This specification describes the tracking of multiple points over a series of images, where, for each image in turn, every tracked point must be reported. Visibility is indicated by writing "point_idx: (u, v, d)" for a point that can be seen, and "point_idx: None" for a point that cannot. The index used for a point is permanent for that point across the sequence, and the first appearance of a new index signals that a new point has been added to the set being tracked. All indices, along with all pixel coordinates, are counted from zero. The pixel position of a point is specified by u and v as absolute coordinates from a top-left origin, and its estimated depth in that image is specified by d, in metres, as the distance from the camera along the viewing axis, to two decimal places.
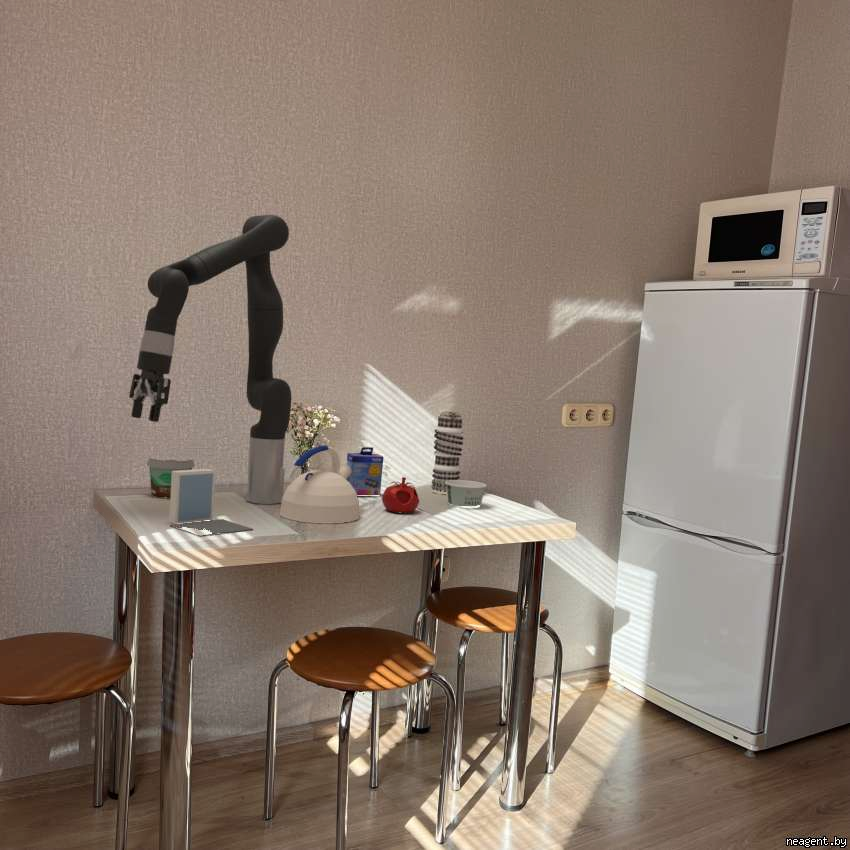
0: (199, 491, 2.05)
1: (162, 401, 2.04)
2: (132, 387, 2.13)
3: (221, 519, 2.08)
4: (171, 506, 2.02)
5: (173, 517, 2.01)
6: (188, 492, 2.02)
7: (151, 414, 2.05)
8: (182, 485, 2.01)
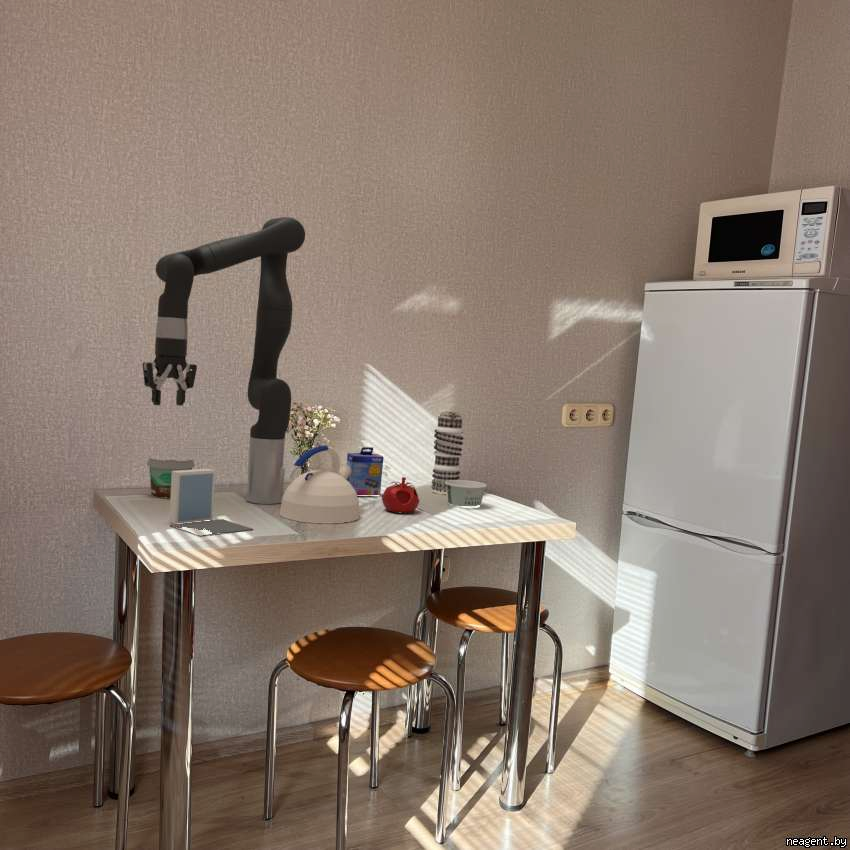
0: (199, 491, 2.05)
1: (147, 385, 2.13)
2: None
3: (221, 519, 2.08)
4: (171, 506, 2.02)
5: (173, 517, 2.01)
6: (188, 492, 2.02)
7: None
8: (182, 485, 2.01)
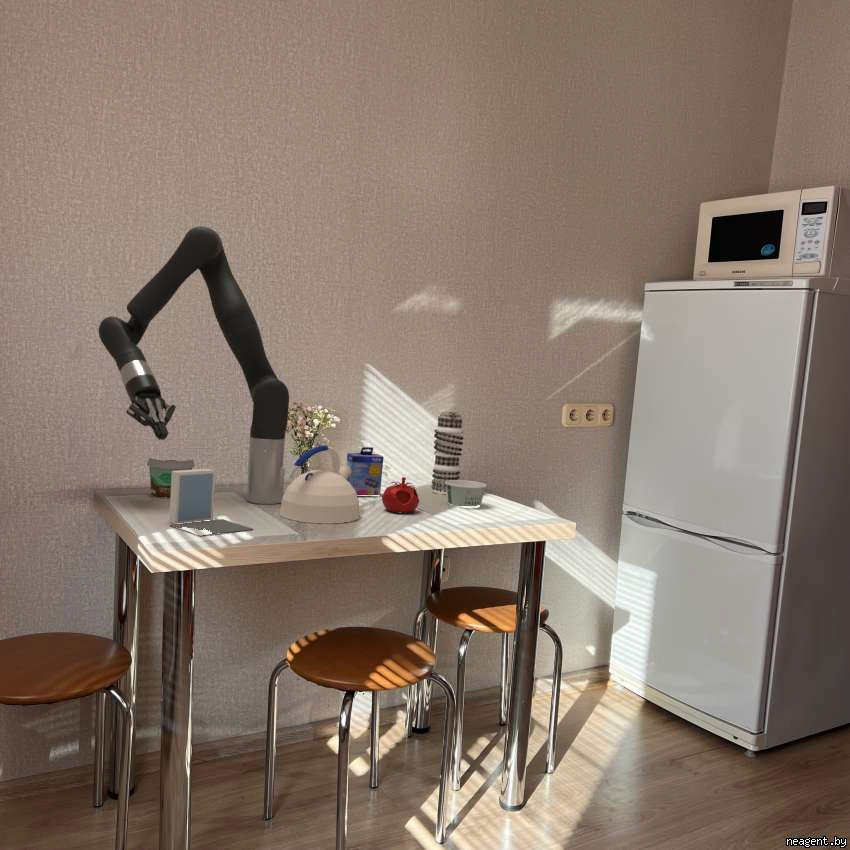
0: (199, 491, 2.05)
1: (145, 423, 2.13)
2: None
3: (221, 519, 2.08)
4: (171, 506, 2.02)
5: (173, 517, 2.01)
6: (188, 492, 2.02)
7: None
8: (182, 485, 2.01)
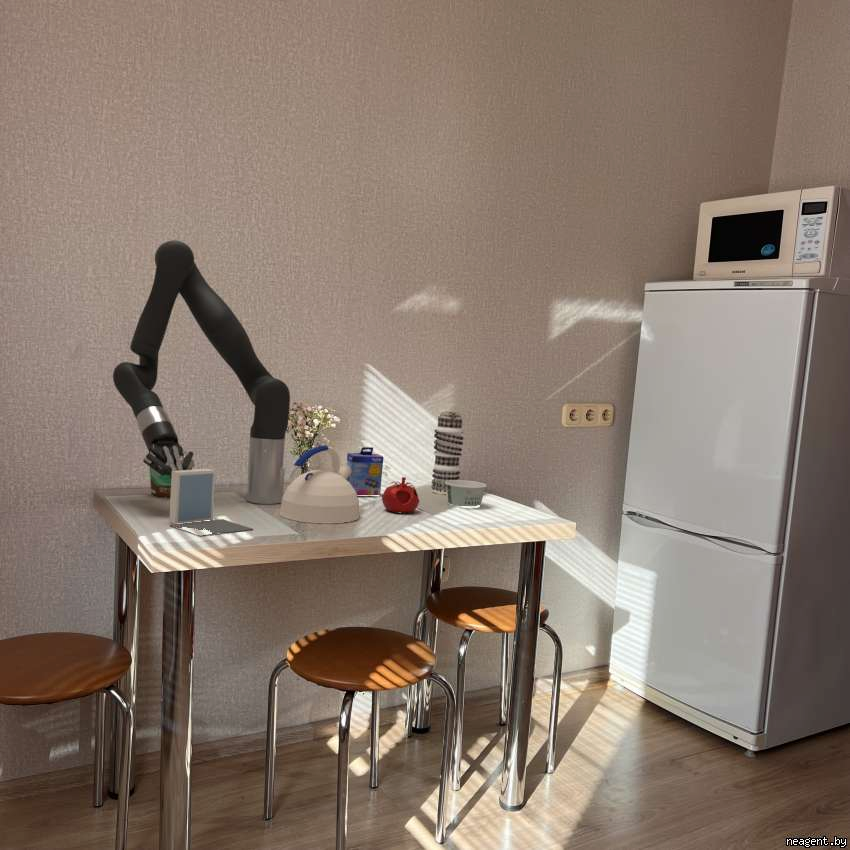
0: (199, 491, 2.05)
1: (163, 472, 2.08)
2: None
3: (221, 519, 2.08)
4: (171, 506, 2.02)
5: (173, 517, 2.01)
6: (188, 492, 2.02)
7: None
8: (182, 485, 2.01)
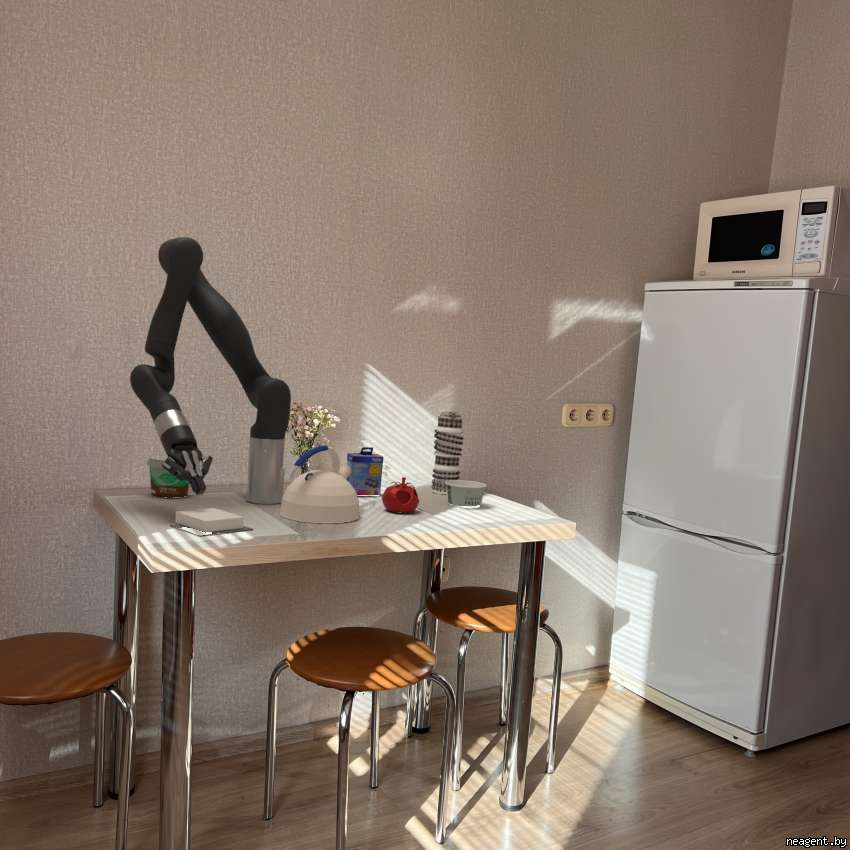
0: None
1: (182, 477, 2.02)
2: None
3: None
4: (185, 518, 1.98)
5: (179, 519, 2.00)
6: None
7: None
8: None
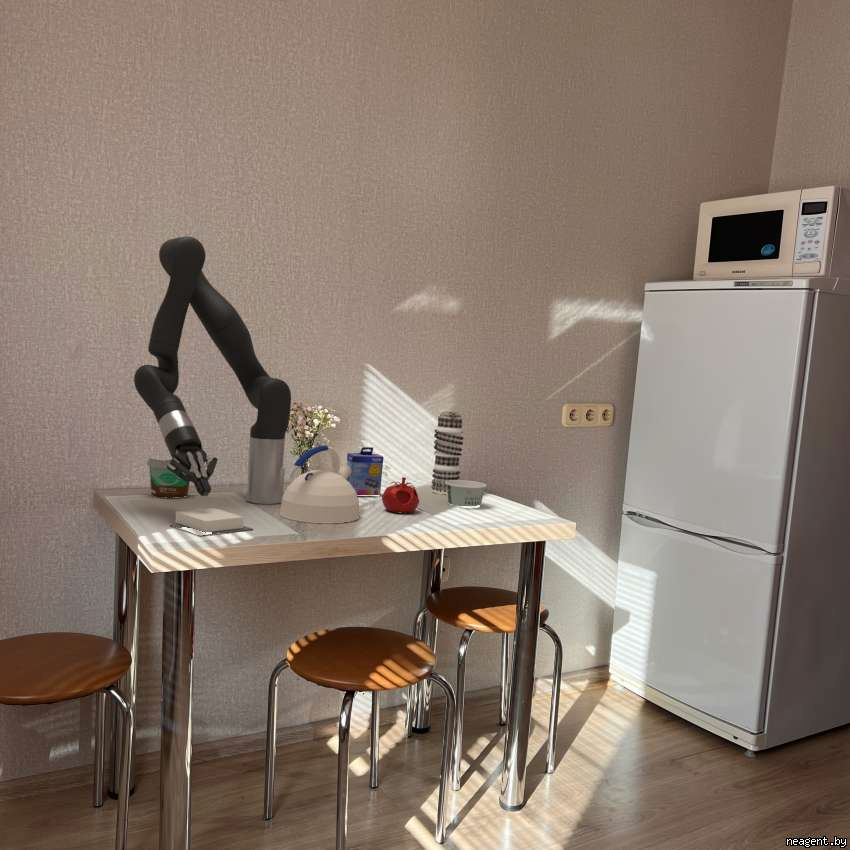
0: None
1: (187, 478, 2.01)
2: None
3: None
4: (185, 518, 1.98)
5: (179, 519, 2.00)
6: None
7: None
8: None
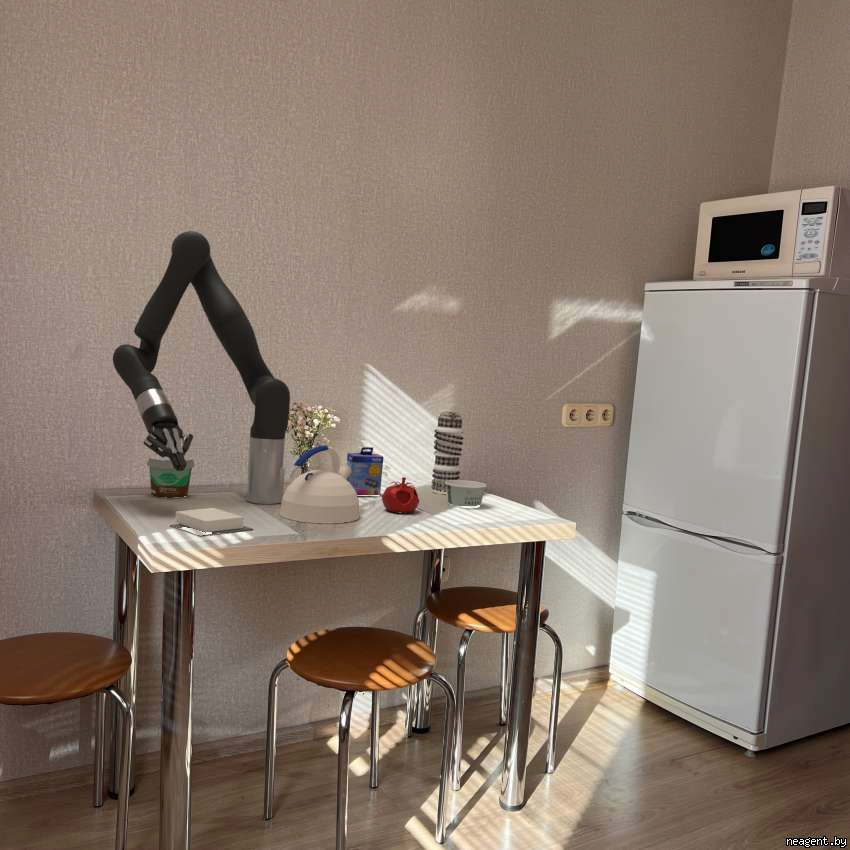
0: None
1: (163, 454, 2.08)
2: None
3: None
4: (185, 518, 1.98)
5: (179, 519, 2.00)
6: None
7: None
8: None
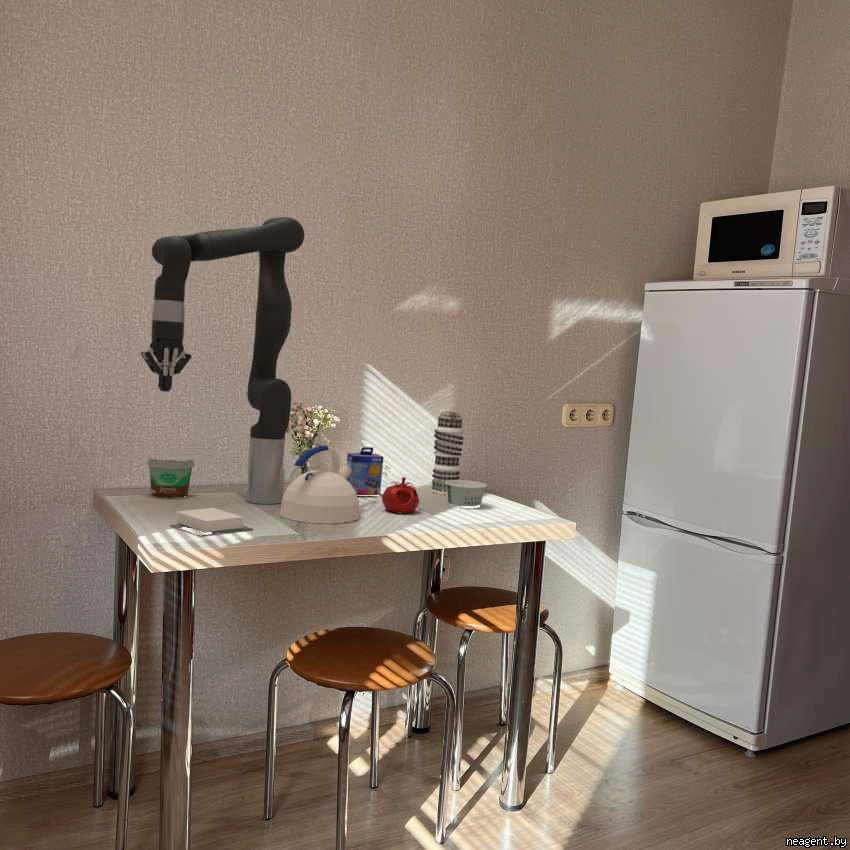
0: None
1: (154, 371, 2.13)
2: None
3: None
4: (185, 518, 1.98)
5: (179, 519, 2.00)
6: None
7: None
8: None
